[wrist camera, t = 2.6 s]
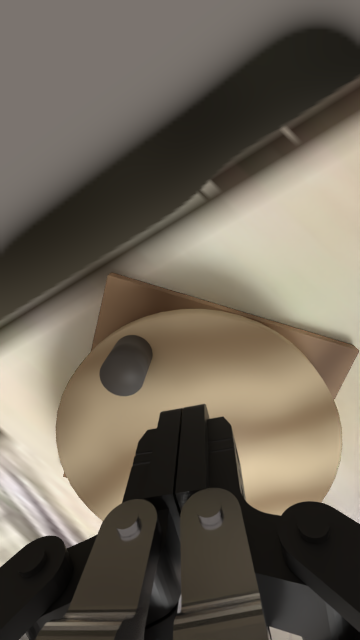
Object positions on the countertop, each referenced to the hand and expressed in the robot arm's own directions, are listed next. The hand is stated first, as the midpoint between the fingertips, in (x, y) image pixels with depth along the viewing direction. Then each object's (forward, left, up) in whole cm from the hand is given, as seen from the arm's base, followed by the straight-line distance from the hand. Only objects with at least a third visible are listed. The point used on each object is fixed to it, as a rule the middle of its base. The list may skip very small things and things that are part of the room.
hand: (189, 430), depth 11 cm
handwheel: (-2, +8, -11) cm, 14 cm away
